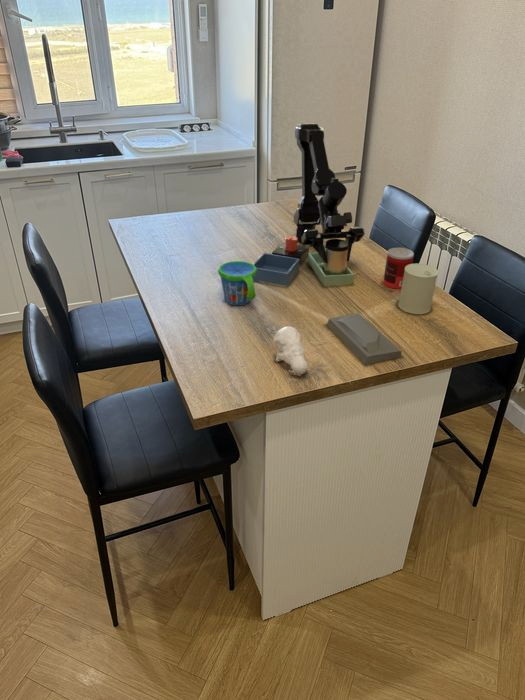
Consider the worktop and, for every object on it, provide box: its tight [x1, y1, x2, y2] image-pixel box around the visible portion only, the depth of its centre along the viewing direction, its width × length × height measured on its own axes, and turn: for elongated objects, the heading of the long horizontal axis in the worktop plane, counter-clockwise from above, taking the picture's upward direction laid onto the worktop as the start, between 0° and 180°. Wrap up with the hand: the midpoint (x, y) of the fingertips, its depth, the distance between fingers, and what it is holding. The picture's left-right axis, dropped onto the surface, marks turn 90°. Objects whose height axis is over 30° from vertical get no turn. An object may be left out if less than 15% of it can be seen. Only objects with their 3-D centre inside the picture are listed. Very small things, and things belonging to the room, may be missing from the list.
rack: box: [307, 251, 355, 286], centre depth 175 cm, size 18×9×4 cm, turn 11°
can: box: [397, 262, 439, 315], centre depth 155 cm, size 9×9×12 cm
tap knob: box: [284, 235, 299, 252], centre depth 183 cm, size 4×4×4 cm
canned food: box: [382, 247, 415, 291], centre depth 166 cm, size 8×8×11 cm
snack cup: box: [217, 260, 257, 306], centre depth 156 cm, size 16×10×10 cm
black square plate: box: [271, 241, 310, 265], centre depth 185 cm, size 10×10×3 cm
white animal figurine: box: [273, 325, 309, 377], centre depth 129 cm, size 6×8×12 cm
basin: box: [252, 252, 301, 287], centre depth 172 cm, size 12×12×5 cm
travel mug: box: [323, 238, 349, 276], centre depth 169 cm, size 7×7×12 cm
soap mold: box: [326, 313, 402, 366], centre depth 141 cm, size 10×20×4 cm, turn 22°
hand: (336, 261), depth 167 cm, fingers closed on travel mug, 7 cm apart
